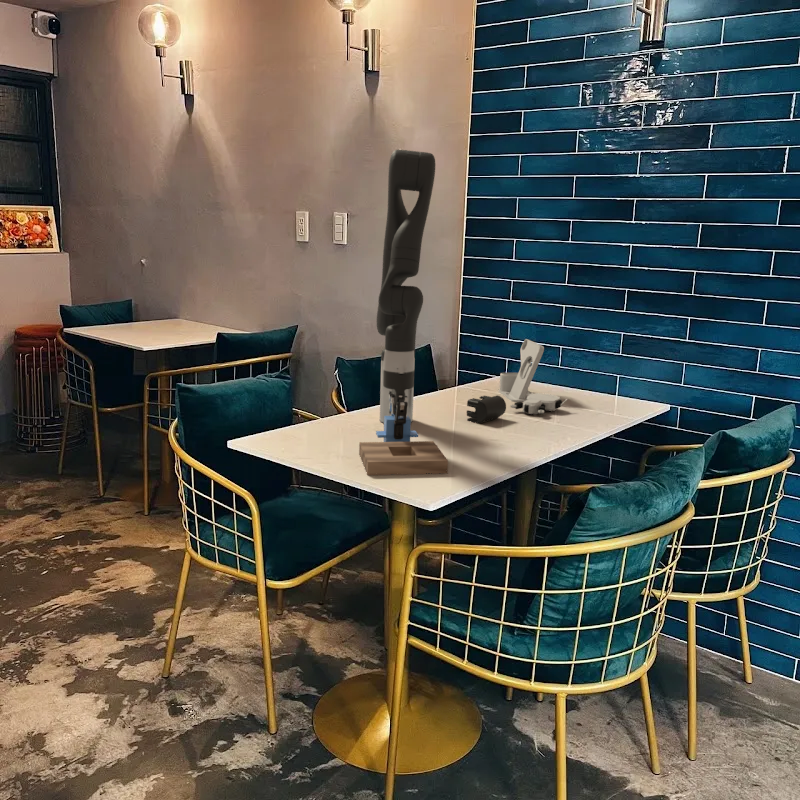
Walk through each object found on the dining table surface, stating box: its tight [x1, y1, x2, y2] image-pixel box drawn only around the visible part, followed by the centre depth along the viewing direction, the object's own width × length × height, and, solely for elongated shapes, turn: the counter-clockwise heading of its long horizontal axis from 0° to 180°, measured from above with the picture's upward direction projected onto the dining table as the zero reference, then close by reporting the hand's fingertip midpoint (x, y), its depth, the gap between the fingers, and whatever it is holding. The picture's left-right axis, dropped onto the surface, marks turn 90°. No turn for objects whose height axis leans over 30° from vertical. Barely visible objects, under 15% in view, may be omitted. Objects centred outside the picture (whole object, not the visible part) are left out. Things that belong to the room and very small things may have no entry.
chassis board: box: [358, 440, 449, 476], centre depth 184 cm, size 16×18×3 cm
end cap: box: [466, 395, 507, 424], centre depth 227 cm, size 10×7×7 cm
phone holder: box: [497, 338, 545, 403], centre depth 260 cm, size 17×10×18 cm, turn 9°
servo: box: [375, 415, 419, 442], centre depth 197 cm, size 10×4×8 cm, turn 99°
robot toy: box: [509, 392, 568, 416], centre depth 240 cm, size 12×4×15 cm
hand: (396, 436), depth 198 cm, fingers closed on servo, 4 cm apart
